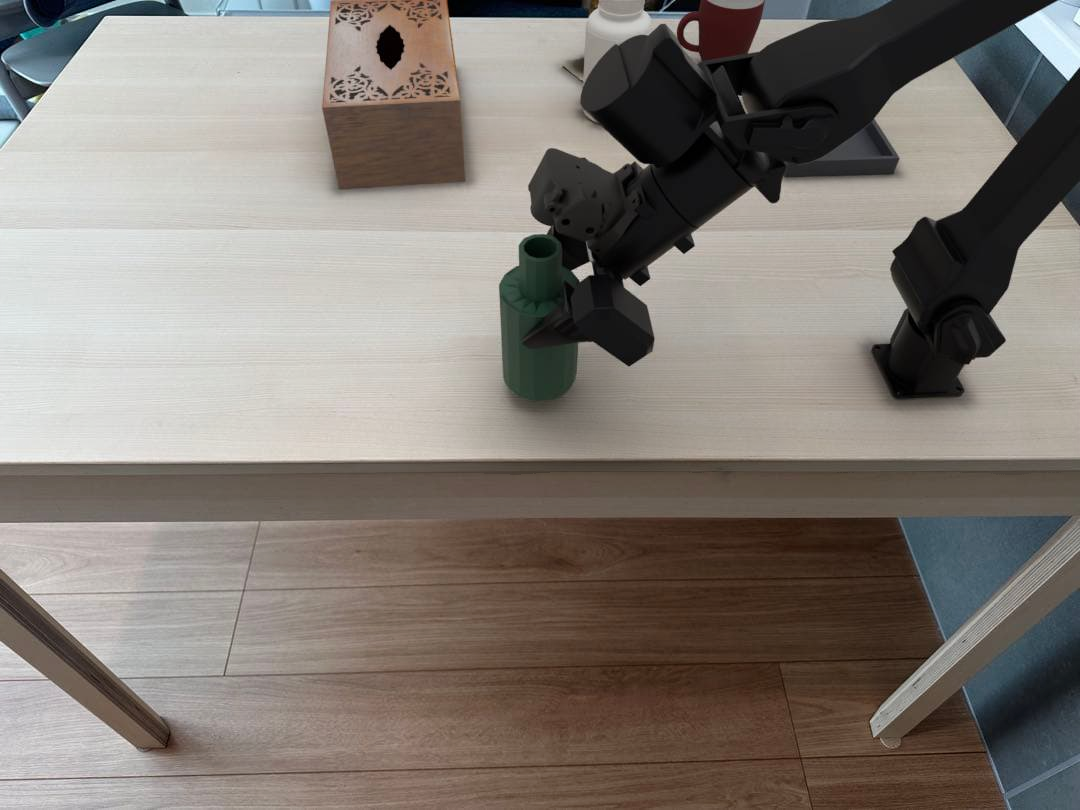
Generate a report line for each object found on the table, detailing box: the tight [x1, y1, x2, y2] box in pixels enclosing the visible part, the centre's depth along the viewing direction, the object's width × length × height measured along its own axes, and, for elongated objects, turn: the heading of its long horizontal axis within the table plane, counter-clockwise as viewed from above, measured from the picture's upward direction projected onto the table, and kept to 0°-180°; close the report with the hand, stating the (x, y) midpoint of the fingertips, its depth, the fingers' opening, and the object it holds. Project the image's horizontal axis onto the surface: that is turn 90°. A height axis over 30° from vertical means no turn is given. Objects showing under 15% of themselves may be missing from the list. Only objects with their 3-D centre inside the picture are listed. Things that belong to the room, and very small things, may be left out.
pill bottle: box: [582, 0, 654, 124], centre depth 97 cm, size 8×8×15 cm
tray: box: [783, 118, 901, 178], centre depth 99 cm, size 17×13×2 cm
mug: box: [676, 0, 766, 61], centre depth 106 cm, size 11×8×10 cm
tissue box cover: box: [321, 0, 467, 190], centre depth 96 cm, size 26×14×10 cm, turn 8°
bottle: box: [498, 233, 581, 402], centre depth 64 cm, size 6×6×14 cm
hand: (522, 315), depth 64 cm, fingers closed on bottle, 6 cm apart
